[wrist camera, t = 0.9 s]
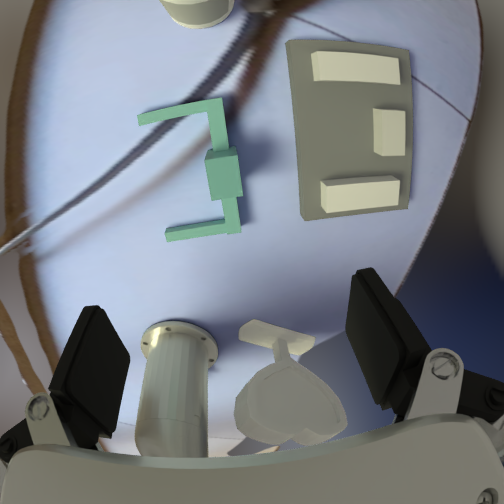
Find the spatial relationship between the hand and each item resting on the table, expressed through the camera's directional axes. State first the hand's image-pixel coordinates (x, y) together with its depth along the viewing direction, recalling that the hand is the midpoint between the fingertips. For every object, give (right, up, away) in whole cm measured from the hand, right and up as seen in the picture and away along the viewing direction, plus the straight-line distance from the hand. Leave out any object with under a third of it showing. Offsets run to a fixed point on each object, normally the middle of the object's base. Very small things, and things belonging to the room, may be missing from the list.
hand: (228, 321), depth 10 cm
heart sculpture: (+5, -11, +35) cm, 37 cm away
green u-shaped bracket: (-5, +11, +20) cm, 24 cm away
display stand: (+12, +16, +19) cm, 28 cm away
